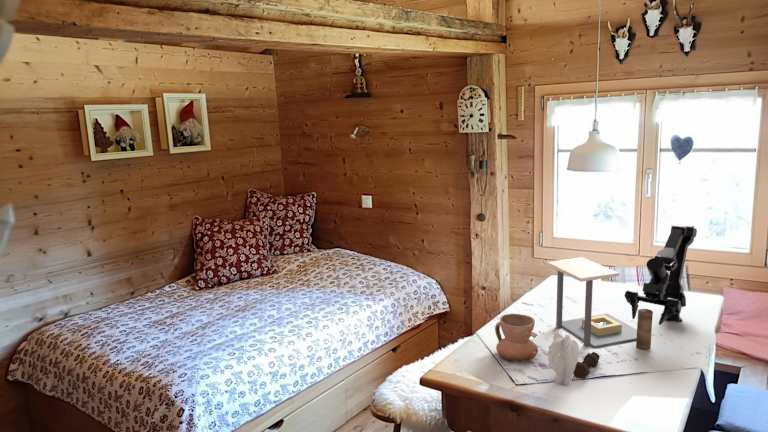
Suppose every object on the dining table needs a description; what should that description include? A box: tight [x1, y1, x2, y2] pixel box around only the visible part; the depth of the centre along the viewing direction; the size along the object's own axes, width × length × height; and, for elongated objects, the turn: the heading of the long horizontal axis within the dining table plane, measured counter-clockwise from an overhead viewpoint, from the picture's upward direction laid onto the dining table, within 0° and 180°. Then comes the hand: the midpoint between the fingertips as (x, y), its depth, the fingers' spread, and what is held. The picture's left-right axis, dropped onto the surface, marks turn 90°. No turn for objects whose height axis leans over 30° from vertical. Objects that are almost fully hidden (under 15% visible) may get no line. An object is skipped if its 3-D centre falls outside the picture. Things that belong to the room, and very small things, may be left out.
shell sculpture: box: [547, 330, 580, 386], centre depth 186 cm, size 8×8×18 cm
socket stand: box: [546, 256, 637, 349], centre depth 222 cm, size 30×24×27 cm
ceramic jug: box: [494, 313, 539, 363], centre depth 206 cm, size 18×14×14 cm
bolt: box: [573, 351, 600, 380], centre depth 196 cm, size 6×5×15 cm
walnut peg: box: [635, 308, 654, 351], centre depth 209 cm, size 5×5×14 cm
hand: (646, 321), depth 210 cm, fingers open, 9 cm apart
